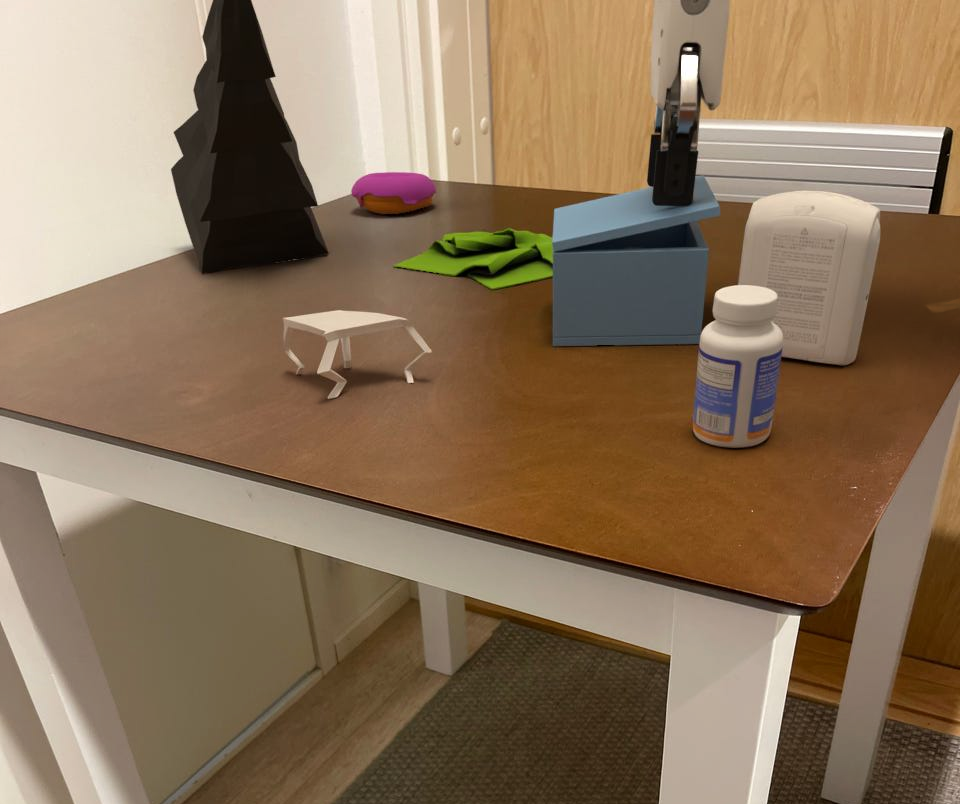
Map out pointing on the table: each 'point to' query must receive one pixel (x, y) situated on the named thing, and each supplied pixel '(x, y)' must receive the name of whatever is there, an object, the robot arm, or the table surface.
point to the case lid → (627, 216)
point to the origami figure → (346, 337)
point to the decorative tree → (242, 155)
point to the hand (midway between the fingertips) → (668, 193)
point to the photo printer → (814, 269)
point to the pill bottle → (738, 368)
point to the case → (632, 289)
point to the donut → (393, 192)
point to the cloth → (489, 257)
